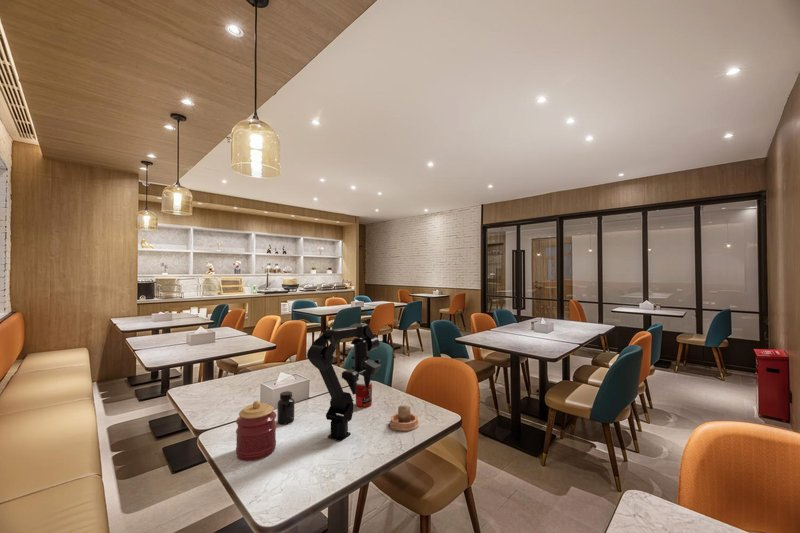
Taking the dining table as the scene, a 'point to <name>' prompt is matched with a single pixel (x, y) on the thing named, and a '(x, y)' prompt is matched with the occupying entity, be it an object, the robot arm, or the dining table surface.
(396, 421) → the dish
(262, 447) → the canister
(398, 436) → the dining table surface
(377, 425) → the dining table surface
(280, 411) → the supplement bottle
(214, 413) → the dining table surface
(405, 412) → the bead
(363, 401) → the canned food
